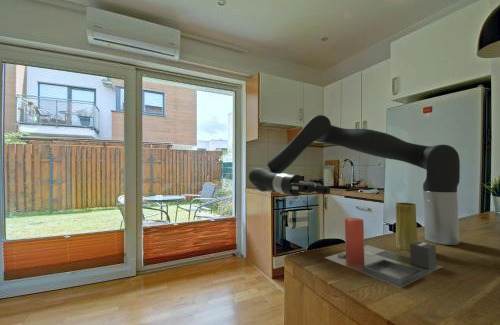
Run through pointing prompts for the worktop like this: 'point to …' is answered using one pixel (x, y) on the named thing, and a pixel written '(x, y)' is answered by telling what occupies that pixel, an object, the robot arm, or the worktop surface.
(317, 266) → the worktop surface
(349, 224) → the red tapered cylinder
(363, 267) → the panel
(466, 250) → the worktop surface
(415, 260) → the breaker
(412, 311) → the worktop surface
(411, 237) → the vase
